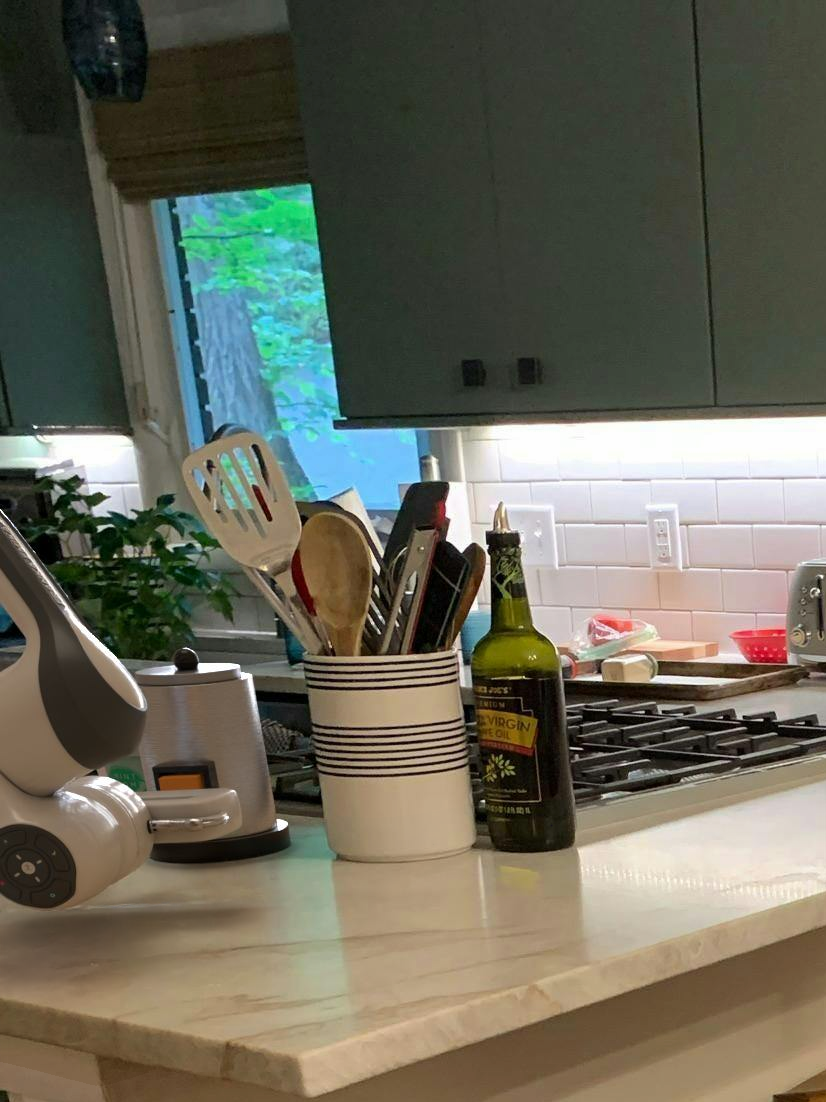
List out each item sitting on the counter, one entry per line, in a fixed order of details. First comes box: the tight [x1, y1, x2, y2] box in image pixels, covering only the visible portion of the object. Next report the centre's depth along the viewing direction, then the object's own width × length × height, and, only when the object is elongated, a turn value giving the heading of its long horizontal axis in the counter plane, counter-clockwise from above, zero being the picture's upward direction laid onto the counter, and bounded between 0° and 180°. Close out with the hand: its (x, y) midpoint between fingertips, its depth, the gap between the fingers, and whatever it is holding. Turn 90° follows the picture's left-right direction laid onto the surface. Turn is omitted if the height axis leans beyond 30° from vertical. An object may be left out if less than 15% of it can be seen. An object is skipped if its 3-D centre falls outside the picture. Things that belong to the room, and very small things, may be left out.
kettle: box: [134, 647, 292, 864], centre depth 197 cm, size 18×14×20 cm
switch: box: [159, 774, 204, 791], centre depth 190 cm, size 2×4×4 cm, turn 94°
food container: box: [105, 748, 147, 792], centre depth 213 cm, size 12×6×10 cm, turn 80°
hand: (147, 802), depth 180 cm, fingers closed
